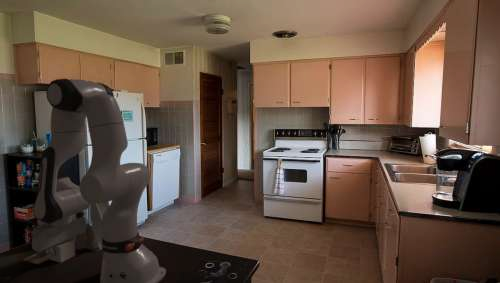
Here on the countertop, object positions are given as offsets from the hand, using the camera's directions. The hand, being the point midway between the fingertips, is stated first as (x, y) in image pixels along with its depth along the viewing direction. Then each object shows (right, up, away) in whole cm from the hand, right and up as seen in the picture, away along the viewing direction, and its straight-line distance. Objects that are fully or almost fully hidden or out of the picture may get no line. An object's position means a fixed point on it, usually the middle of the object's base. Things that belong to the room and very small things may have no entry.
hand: (62, 251), depth 116 cm
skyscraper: (+10, -2, +10) cm, 15 cm away
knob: (0, -2, 0) cm, 2 cm away
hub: (-8, -2, 0) cm, 9 cm away
